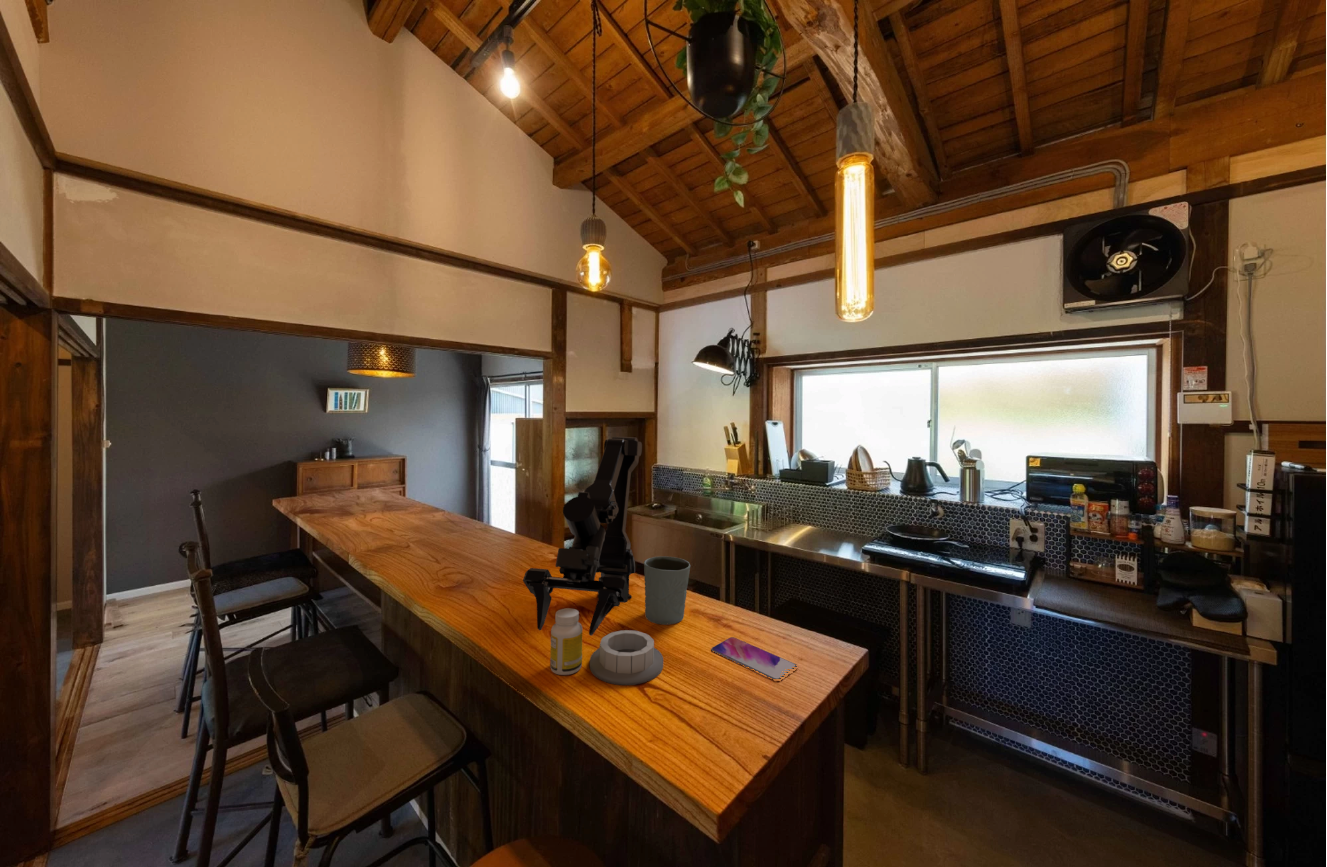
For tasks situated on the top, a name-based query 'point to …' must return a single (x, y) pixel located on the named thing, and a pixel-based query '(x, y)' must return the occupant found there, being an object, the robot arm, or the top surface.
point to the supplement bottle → (566, 642)
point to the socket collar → (626, 658)
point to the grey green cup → (665, 589)
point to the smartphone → (753, 657)
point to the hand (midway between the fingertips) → (564, 632)
